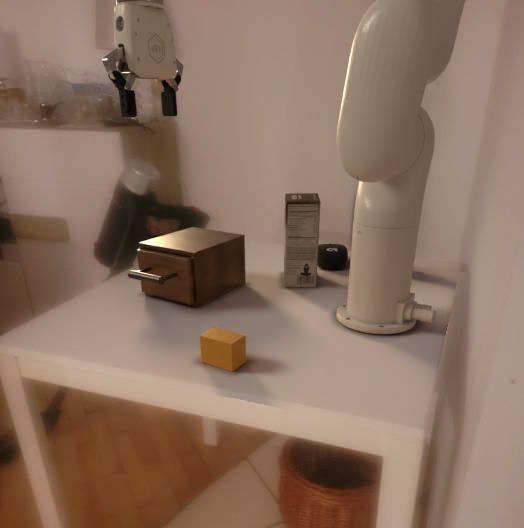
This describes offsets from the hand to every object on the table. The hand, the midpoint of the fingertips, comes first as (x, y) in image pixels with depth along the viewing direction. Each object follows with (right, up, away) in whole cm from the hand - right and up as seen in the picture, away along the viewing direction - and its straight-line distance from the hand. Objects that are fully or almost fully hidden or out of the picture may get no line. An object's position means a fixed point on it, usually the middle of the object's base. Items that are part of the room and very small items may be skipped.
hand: (150, 116), depth 86 cm
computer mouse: (+35, -22, +22) cm, 46 cm away
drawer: (+5, -30, +3) cm, 31 cm away
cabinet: (+7, -30, +6) cm, 31 cm away
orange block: (+15, -43, -20) cm, 49 cm away
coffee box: (+27, -27, +11) cm, 40 cm away
